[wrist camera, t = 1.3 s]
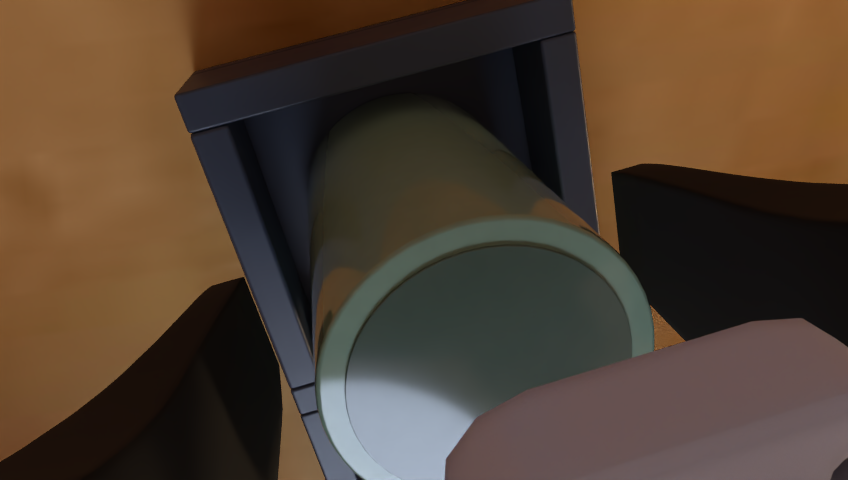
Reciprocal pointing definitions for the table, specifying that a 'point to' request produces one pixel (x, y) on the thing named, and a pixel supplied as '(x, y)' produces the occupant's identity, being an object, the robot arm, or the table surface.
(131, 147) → the table surface
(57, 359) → the table surface
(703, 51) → the table surface
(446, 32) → the cup holder
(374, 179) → the green cup
